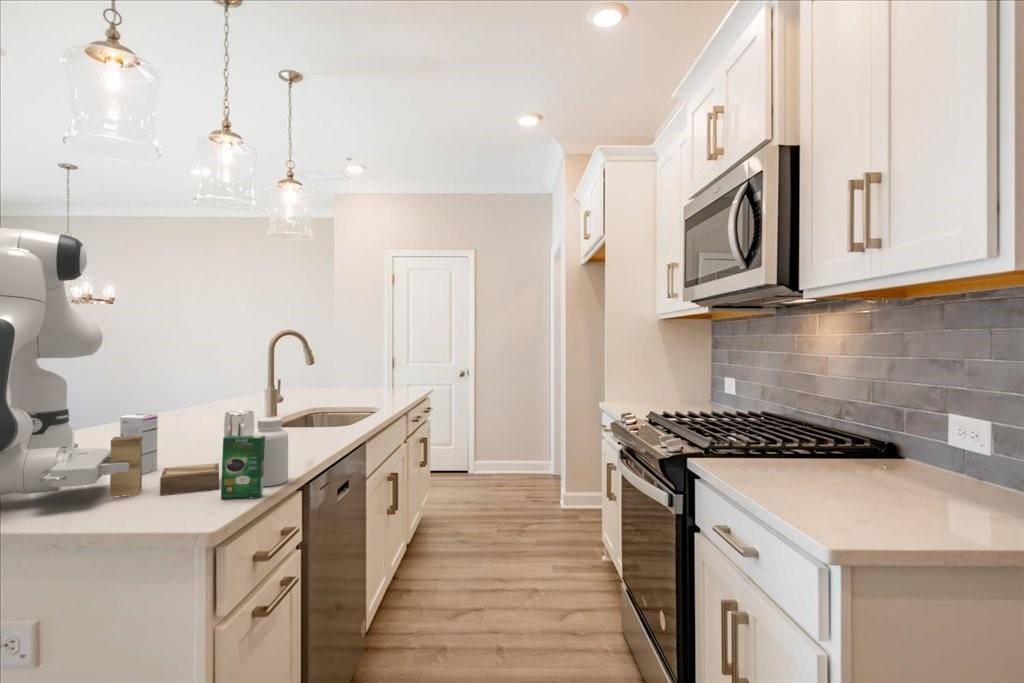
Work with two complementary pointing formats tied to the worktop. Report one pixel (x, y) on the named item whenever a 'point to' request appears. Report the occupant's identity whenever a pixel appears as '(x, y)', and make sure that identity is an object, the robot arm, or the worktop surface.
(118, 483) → the oak block
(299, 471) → the worktop surface
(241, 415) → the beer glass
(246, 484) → the coffee box
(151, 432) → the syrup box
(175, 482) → the walnut base
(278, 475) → the pill bottle
